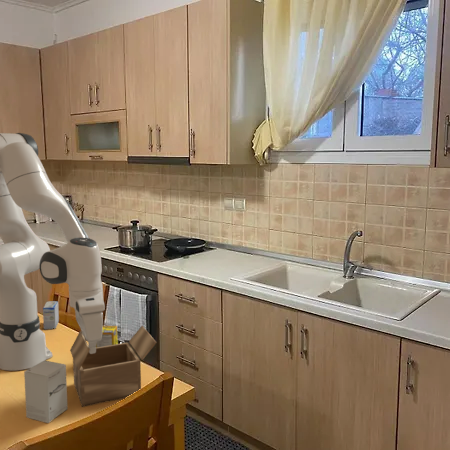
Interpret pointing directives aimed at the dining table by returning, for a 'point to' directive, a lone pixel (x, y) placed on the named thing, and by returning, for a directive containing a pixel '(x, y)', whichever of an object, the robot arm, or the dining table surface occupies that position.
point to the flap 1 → (79, 350)
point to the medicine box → (50, 315)
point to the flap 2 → (142, 342)
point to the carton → (108, 374)
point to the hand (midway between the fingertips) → (89, 346)
